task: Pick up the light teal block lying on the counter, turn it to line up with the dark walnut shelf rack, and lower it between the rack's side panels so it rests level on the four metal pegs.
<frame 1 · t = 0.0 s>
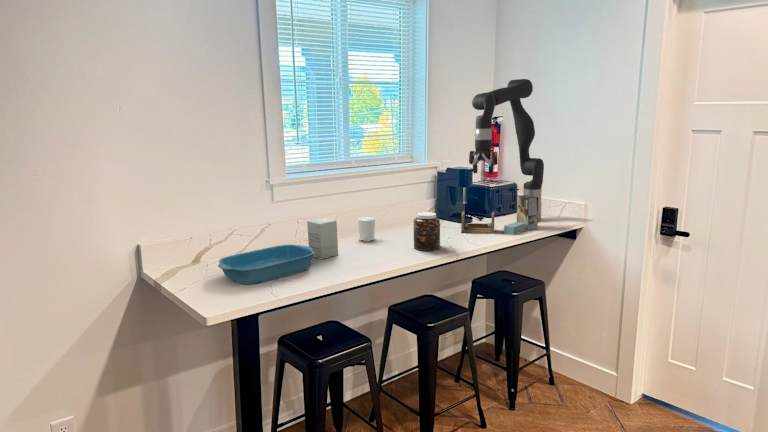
hand: (482, 173, 242), 29 cm above the counter, tool pointing down, fingers open, 8 cm apart
shelf rack: (477, 231, 255), on the counter
coffee box: (526, 228, 260), on the counter
white cup: (367, 240, 244), on the counter
light teal block: (514, 232, 253), on the counter
supplement box: (323, 256, 218), on the counter
casserole dish: (268, 274, 195), on the counter
jar: (426, 248, 227), on the counter
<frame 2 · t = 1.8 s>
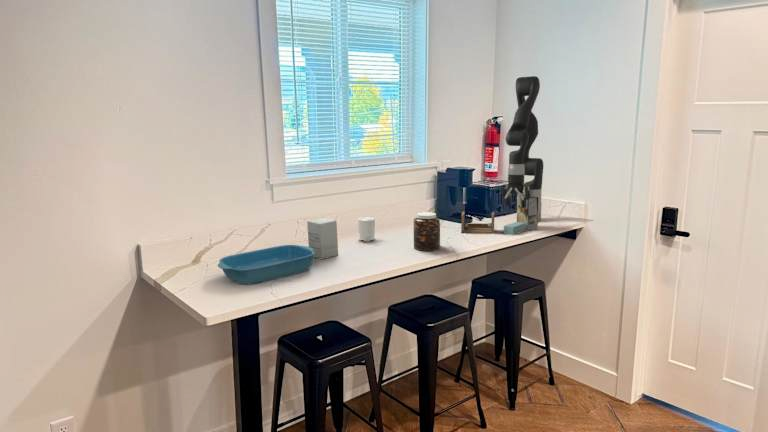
hand: (515, 206, 250), 12 cm above the counter, tool pointing down, fingers open, 8 cm apart
nothing on the counter moved.
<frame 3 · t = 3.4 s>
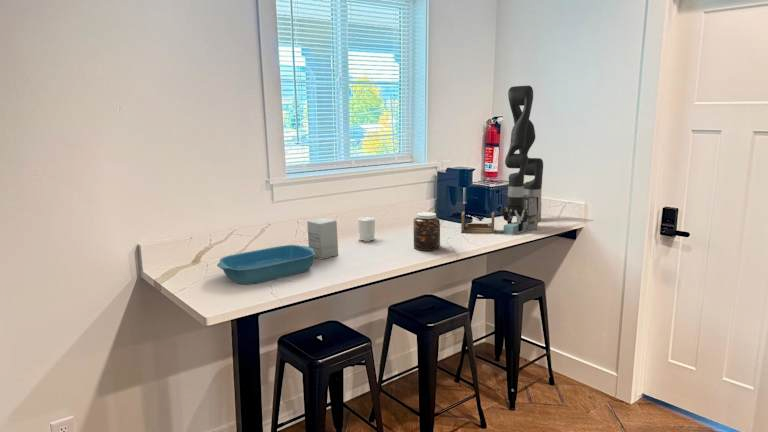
hand: (514, 229, 252), 1 cm above the counter, tool pointing down, fingers closed on light teal block, 5 cm apart
light teal block: (514, 231, 253), on the counter, touching gripper
everything else where it was.
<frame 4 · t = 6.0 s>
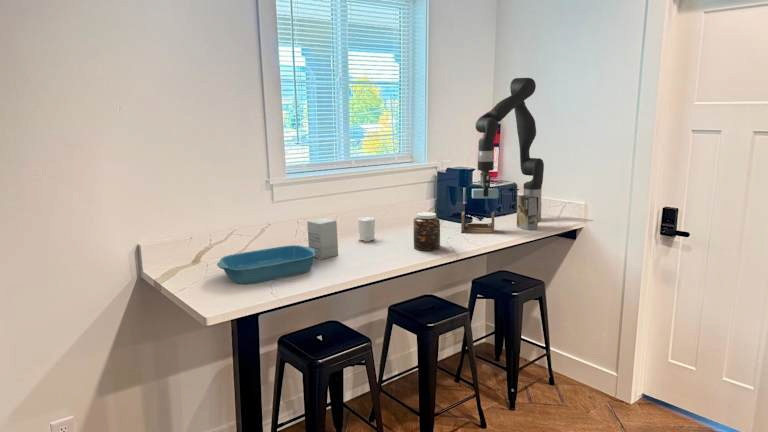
hand: (484, 195, 251), 18 cm above the counter, tool pointing down, fingers closed on light teal block, 5 cm apart
light teal block: (484, 197, 251), point 17 cm above the counter, touching gripper
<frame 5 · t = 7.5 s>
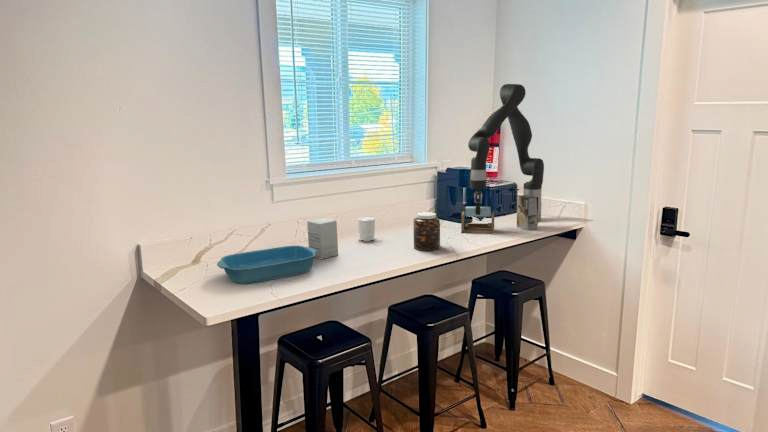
hand: (478, 213, 253), 9 cm above the counter, tool pointing down, fingers closed on light teal block, 5 cm apart
light teal block: (477, 215, 254), point 8 cm above the counter, touching gripper
when the fingers open (5 cm above the counter, at t = 8.7 s): light teal block stays where it is, resting on shelf rack.
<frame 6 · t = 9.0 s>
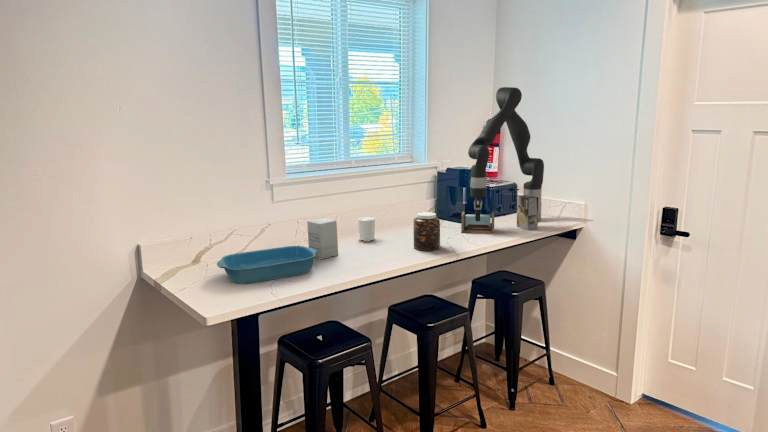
hand: (477, 219, 254), 6 cm above the counter, tool pointing down, fingers open, 8 cm apart
light teal block: (477, 223, 254), point 4 cm above the counter, touching shelf rack
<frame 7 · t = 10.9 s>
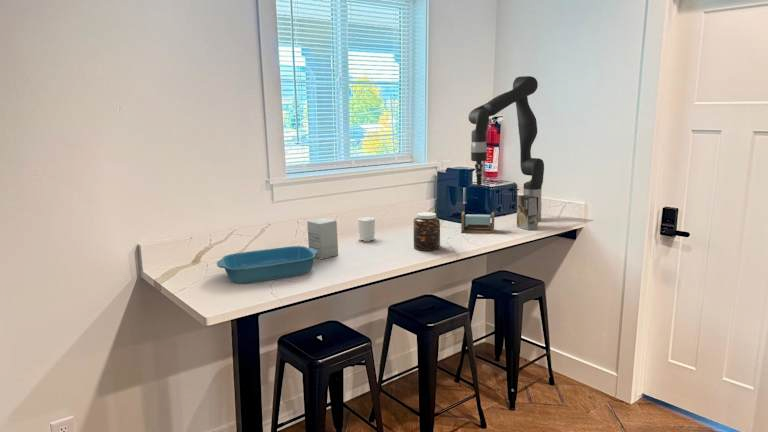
hand: (479, 183, 258), 23 cm above the counter, tool pointing down, fingers open, 8 cm apart
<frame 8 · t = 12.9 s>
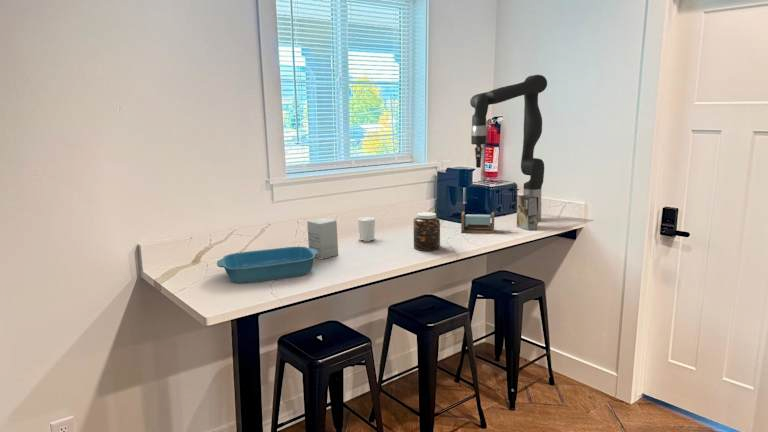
hand: (478, 166, 266), 30 cm above the counter, tool pointing down, fingers open, 8 cm apart
at the end: light teal block 0.0 cm off-centre on the shelf rack, point 4.0 cm above the shelf rack's base; light teal block tilted 0°; the gripper is holding nothing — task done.
